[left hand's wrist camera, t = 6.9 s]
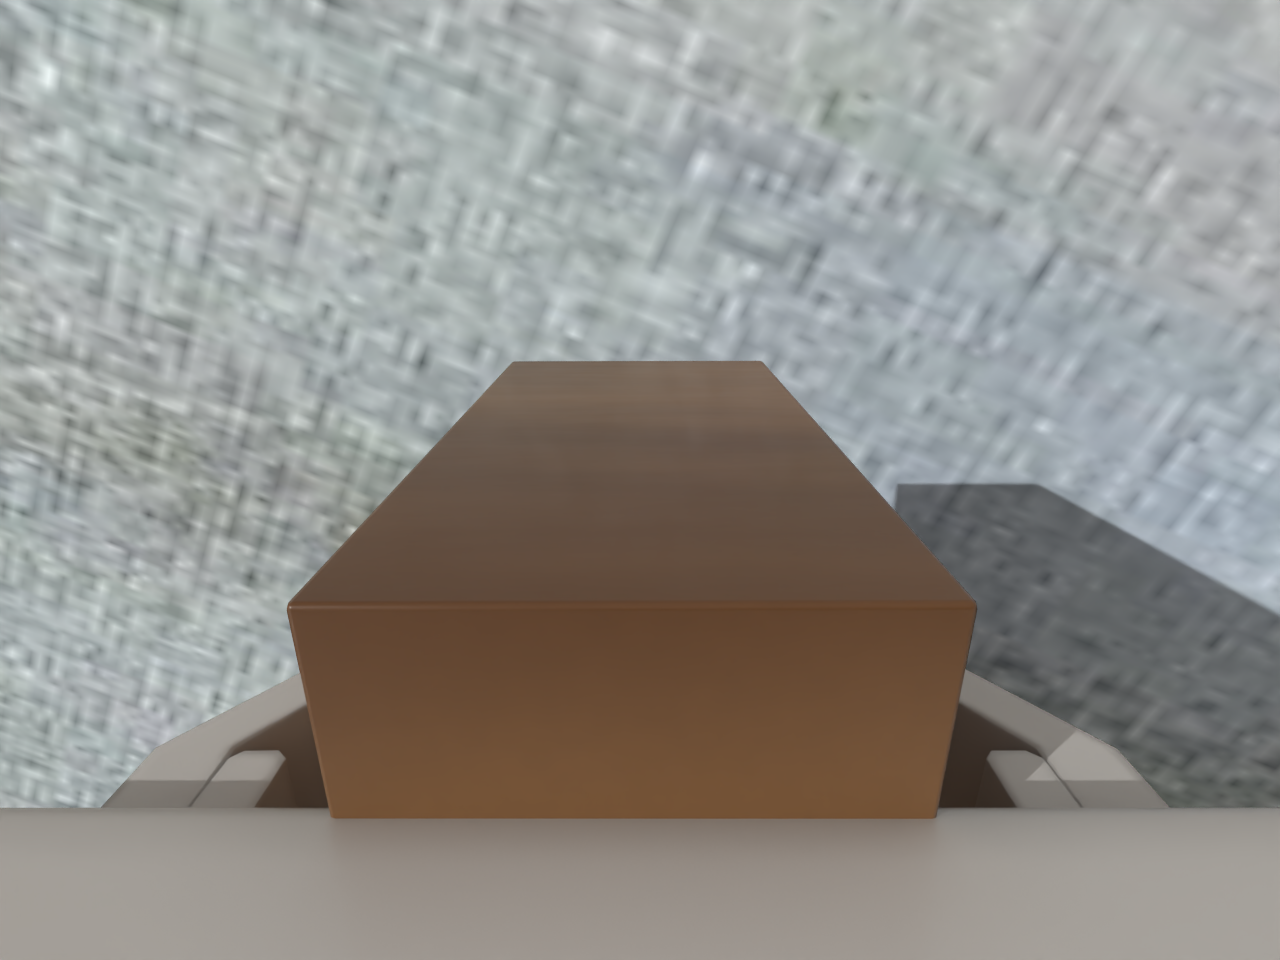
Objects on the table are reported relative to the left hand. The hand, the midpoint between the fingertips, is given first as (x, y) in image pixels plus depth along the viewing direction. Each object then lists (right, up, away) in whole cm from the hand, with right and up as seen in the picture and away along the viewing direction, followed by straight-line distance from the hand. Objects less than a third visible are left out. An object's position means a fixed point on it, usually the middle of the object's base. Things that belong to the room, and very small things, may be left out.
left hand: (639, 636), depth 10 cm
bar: (0, -9, +7) cm, 11 cm away
